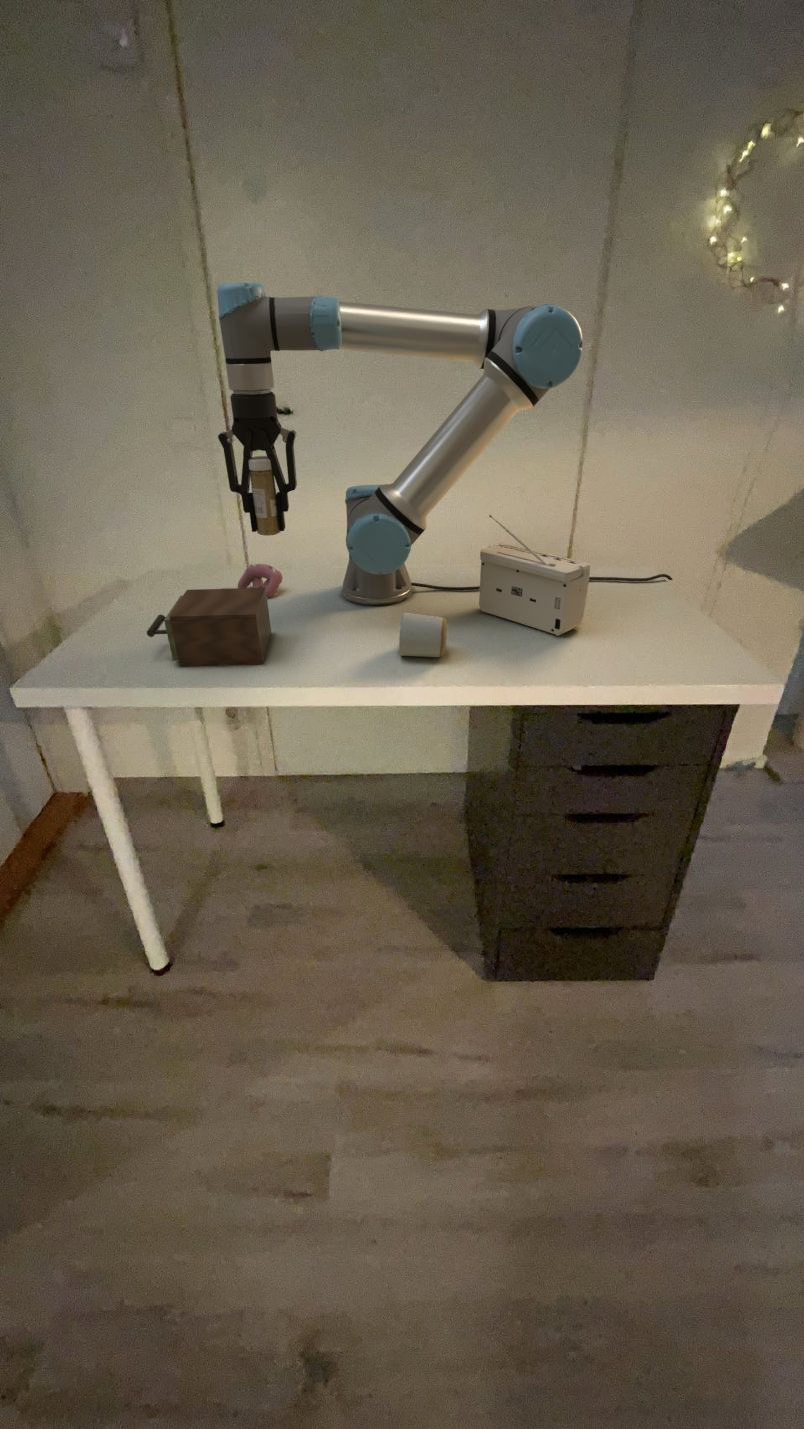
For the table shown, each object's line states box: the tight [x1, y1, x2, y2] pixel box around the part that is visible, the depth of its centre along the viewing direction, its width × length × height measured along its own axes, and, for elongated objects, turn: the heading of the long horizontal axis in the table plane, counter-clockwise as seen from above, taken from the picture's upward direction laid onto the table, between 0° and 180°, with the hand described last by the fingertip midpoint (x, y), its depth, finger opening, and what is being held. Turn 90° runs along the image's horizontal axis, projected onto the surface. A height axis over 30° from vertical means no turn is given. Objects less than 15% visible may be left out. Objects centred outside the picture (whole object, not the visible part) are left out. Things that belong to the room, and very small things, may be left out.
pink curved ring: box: [237, 563, 283, 599], centre depth 146 cm, size 10×5×7 cm, turn 58°
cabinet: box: [169, 587, 272, 667], centre depth 119 cm, size 15×13×10 cm
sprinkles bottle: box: [249, 455, 282, 537], centre depth 120 cm, size 5×5×13 cm
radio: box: [478, 514, 591, 637], centre depth 126 cm, size 21×8×20 cm, turn 47°
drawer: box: [146, 595, 183, 661], centre depth 118 cm, size 18×11×8 cm, turn 92°
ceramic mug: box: [398, 612, 448, 658], centre depth 118 cm, size 11×8×8 cm
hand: (268, 529), depth 123 cm, fingers closed on sprinkles bottle, 4 cm apart
